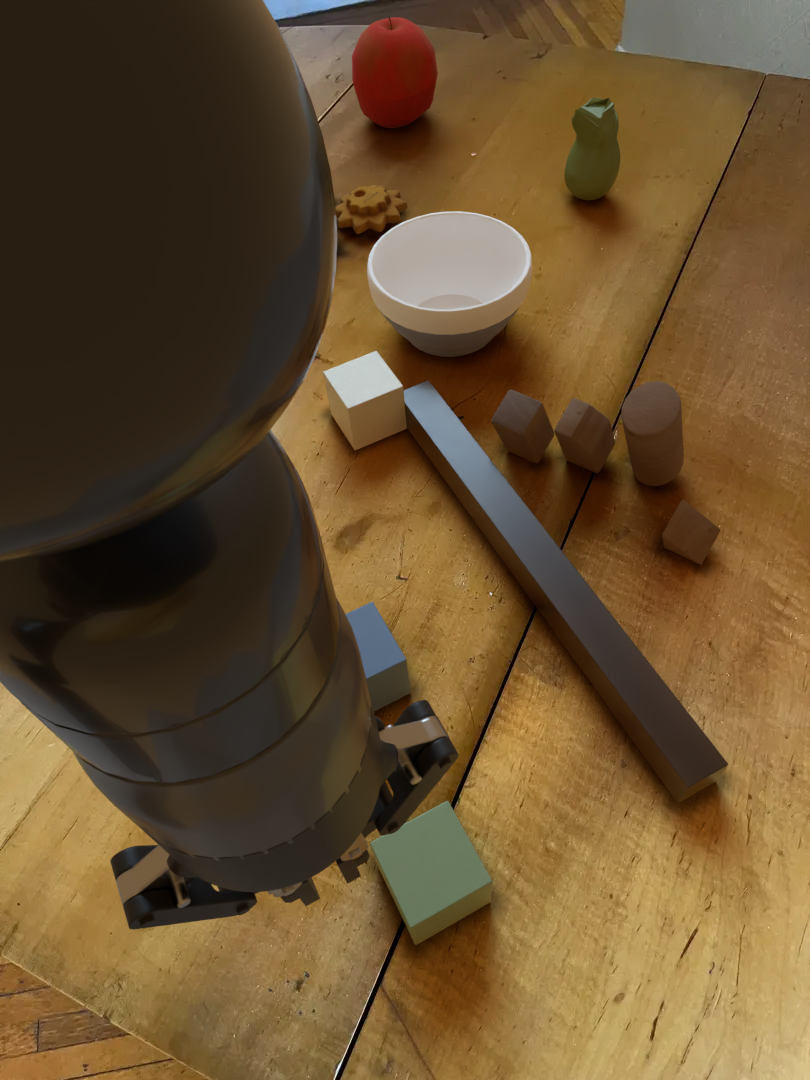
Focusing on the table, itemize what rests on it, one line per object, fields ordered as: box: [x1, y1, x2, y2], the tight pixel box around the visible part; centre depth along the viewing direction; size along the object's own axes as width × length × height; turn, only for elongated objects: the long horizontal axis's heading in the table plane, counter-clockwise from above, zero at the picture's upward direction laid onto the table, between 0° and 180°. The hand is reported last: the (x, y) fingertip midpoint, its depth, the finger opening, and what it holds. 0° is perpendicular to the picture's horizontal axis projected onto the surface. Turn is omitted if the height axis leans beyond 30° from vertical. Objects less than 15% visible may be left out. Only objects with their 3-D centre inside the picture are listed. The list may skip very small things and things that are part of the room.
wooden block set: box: [490, 380, 721, 566], centre depth 61 cm, size 18×9×10 cm, turn 53°
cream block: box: [322, 350, 408, 451], centre depth 69 cm, size 5×5×5 cm
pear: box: [563, 96, 621, 201], centre depth 84 cm, size 6×5×10 cm
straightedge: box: [404, 379, 729, 804], centre depth 60 cm, size 3×38×3 cm, turn 27°
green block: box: [369, 800, 493, 946], centre depth 47 cm, size 5×5×5 cm
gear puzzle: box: [336, 184, 408, 251], centre depth 86 cm, size 31×16×4 cm, turn 96°
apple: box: [351, 15, 439, 129], centre depth 95 cm, size 10×10×12 cm
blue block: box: [345, 601, 412, 712], centre depth 55 cm, size 5×5×5 cm
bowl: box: [366, 210, 533, 358], centre depth 74 cm, size 14×14×8 cm
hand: (325, 869), depth 37 cm, fingers closed
